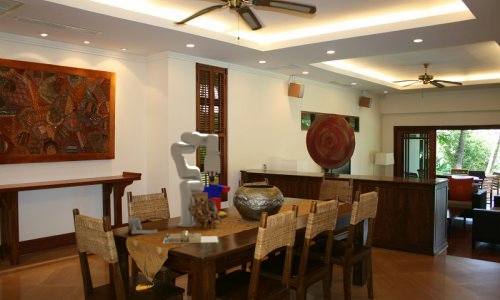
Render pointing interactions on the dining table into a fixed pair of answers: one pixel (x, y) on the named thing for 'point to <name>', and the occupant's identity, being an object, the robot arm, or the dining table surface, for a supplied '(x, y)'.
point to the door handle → (138, 227)
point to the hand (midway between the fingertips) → (212, 182)
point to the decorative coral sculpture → (205, 212)
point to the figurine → (216, 194)
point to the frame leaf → (179, 237)
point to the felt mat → (203, 239)
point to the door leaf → (194, 237)
